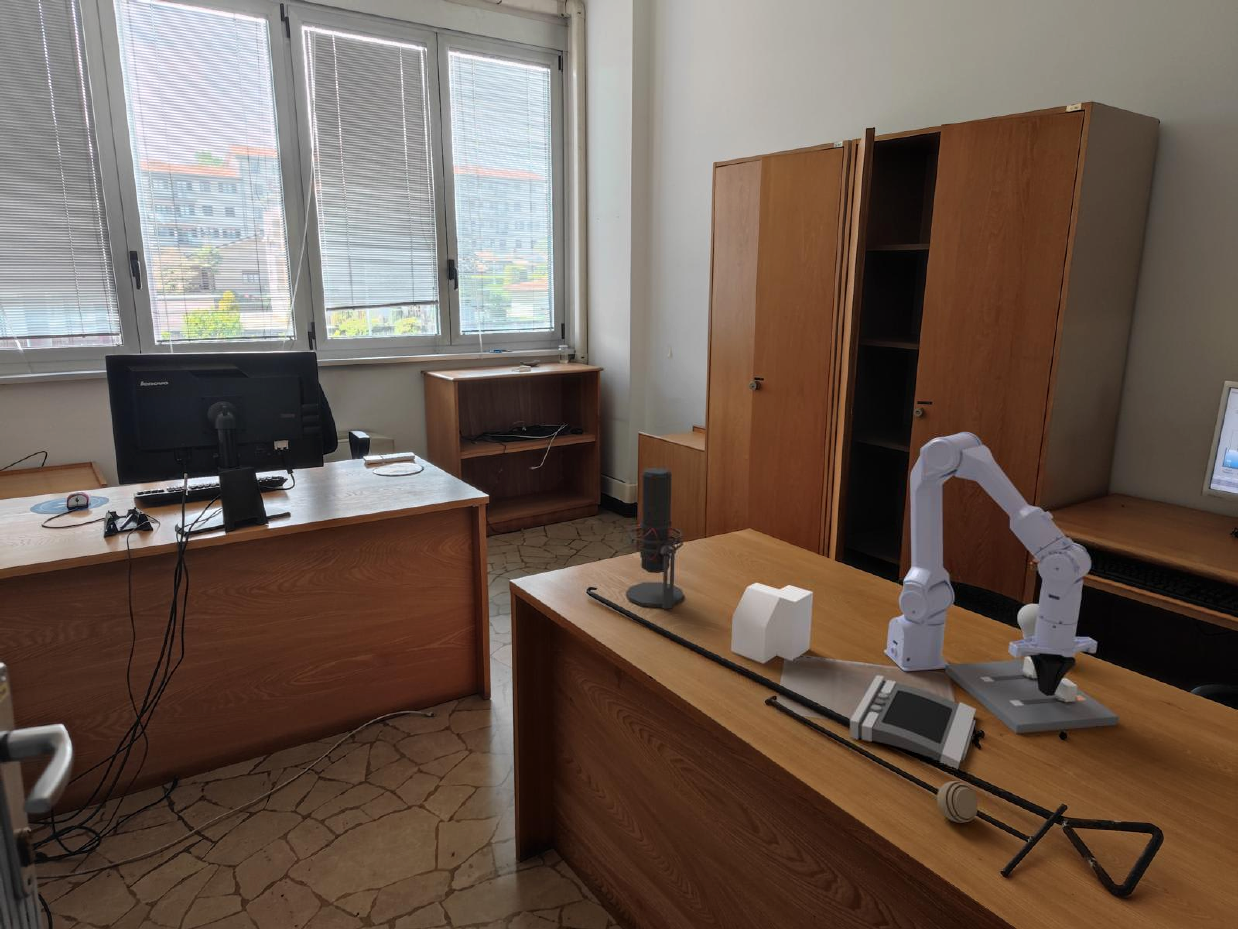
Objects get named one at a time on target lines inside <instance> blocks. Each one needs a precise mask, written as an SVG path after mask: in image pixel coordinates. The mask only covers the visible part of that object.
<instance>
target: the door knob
mask: <svg viewBox="0 0 1238 929" xmlns="http://www.w3.org/2000/svg"><path fill="white" fill-rule="evenodd" d="M936 801H937V805H938V809H939V810H940V812H941V813H942V814H943V816H945V817H946V818H947V819H948V820H950V821H952V822H954V823H960V824H961V823H962V824H963V823H969V822H971V821H972V820H973V819H974V818H975V817H976V815H977V813H978V809H979V808H978V807H979V804H978V802H979V801H978V798H977V795H976V793H975V791H974V790H973V789H972V787H970V785H968V784H966V783H964V782H961V781H956V780H954V781H953V780H952V781H947V782H945V783H944V784H942V786H940V788H939V789H938V791H937V795H936Z"/></svg>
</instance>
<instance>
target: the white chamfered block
mask: <svg viewBox="0 0 1238 929" xmlns="http://www.w3.org/2000/svg"><path fill="white" fill-rule="evenodd" d="M813 598H814V591H811V590H807V589H804V588H800V587H797V586H794V585H790V584H788V585H785V586H784V587H782V588H780V589H779V588H775V587H773V586H768V585H766V584H762V583H759V582H755V583H752V584H750V585H749V586H747V587H746V588H745V591H744V593H743V595H742V597H741V599H740V601H739V603H738V605H737V607H736V609H735V611H734V612H733V614H732V619H731V620H732V624H731V625H732V626H731V644H730V645H731V646H730V647H731V648H730V651H731V652H733V653H735V654H737V655H740V656H742V657H745V658H748V659H751V660H753V661H755V662H758V663H760V664H765V663H767V662H768V661H770V660H771V659H773V658H774V657H776V656H778V657H780V658H783V659H785V660H788V659H789V661H791V660H792V661H794V660H795V659H796V658H795V657H797V658H798V657H800V656H802V655H803V654H805V653H806V652H807V651H809V650H810V644H811V627H812V614H813V600H814V599H813ZM794 658H795V659H794ZM793 659H794V660H793Z"/></svg>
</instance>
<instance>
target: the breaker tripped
mask: <svg viewBox="0 0 1238 929" xmlns="http://www.w3.org/2000/svg"><path fill="white" fill-rule="evenodd" d="M1077 688H1078V685H1077V684H1075V682H1073V681H1071V680H1070V679H1068V678H1066V677H1063V679H1062V680H1061V682H1060V684H1059V686H1058V688H1057V690H1056V692H1055V694H1054V695H1053V696H1054V697H1056V698H1057V699H1059V700H1060V701H1065V702H1071V701H1075V700H1077V698H1078V697H1076V693H1077Z"/></svg>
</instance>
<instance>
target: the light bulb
mask: <svg viewBox="0 0 1238 929" xmlns="http://www.w3.org/2000/svg"><path fill="white" fill-rule="evenodd" d="M1038 606H1039V603H1028V604H1026V605H1024V606H1022V607H1021V608H1020V610H1019V611H1018V613H1017V624H1018V626H1019V627H1020V629H1021V631H1022V637H1023V639H1026V638H1029V637H1032V636H1034V634H1035V627H1036V620H1037V613H1038Z"/></svg>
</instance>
